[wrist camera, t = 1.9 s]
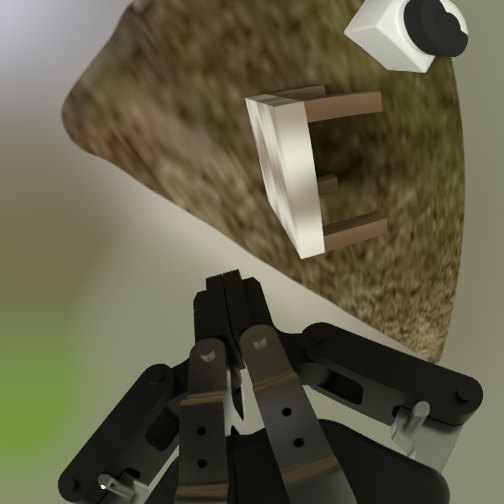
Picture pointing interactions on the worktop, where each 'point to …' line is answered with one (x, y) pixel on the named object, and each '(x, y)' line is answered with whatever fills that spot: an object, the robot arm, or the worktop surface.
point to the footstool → (307, 164)
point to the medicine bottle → (408, 32)
